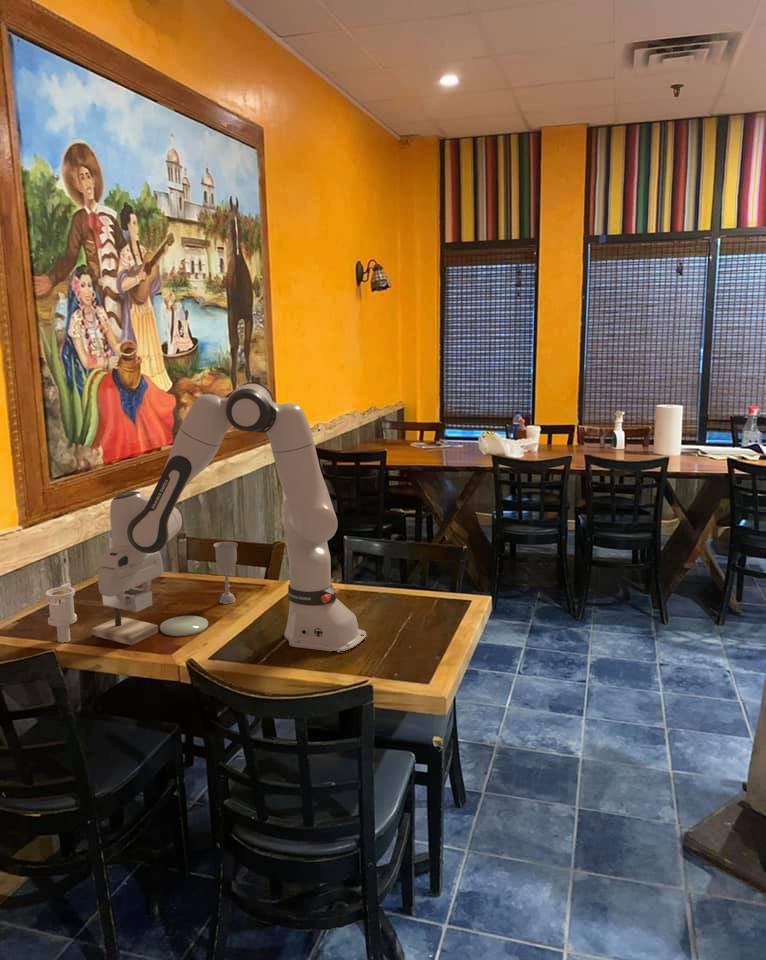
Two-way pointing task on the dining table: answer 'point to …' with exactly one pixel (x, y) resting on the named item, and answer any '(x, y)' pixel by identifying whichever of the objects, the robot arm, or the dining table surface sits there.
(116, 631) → the stand
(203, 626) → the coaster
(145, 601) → the grey hollow block
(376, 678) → the dining table surface
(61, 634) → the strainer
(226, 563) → the chalice
